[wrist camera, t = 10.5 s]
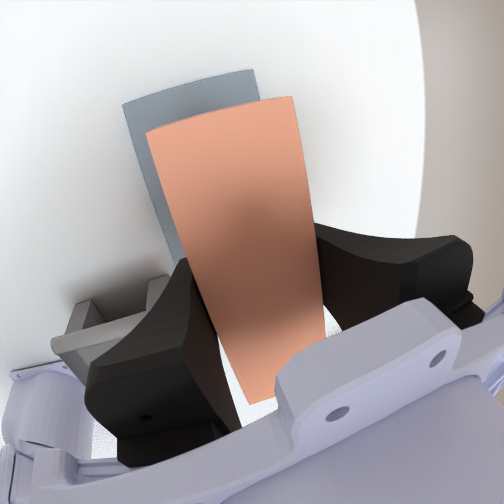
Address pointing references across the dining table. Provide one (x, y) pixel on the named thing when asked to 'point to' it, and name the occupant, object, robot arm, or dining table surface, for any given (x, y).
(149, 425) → the robot arm
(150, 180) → the slate mat
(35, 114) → the dining table surface
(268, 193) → the bar
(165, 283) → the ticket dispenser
